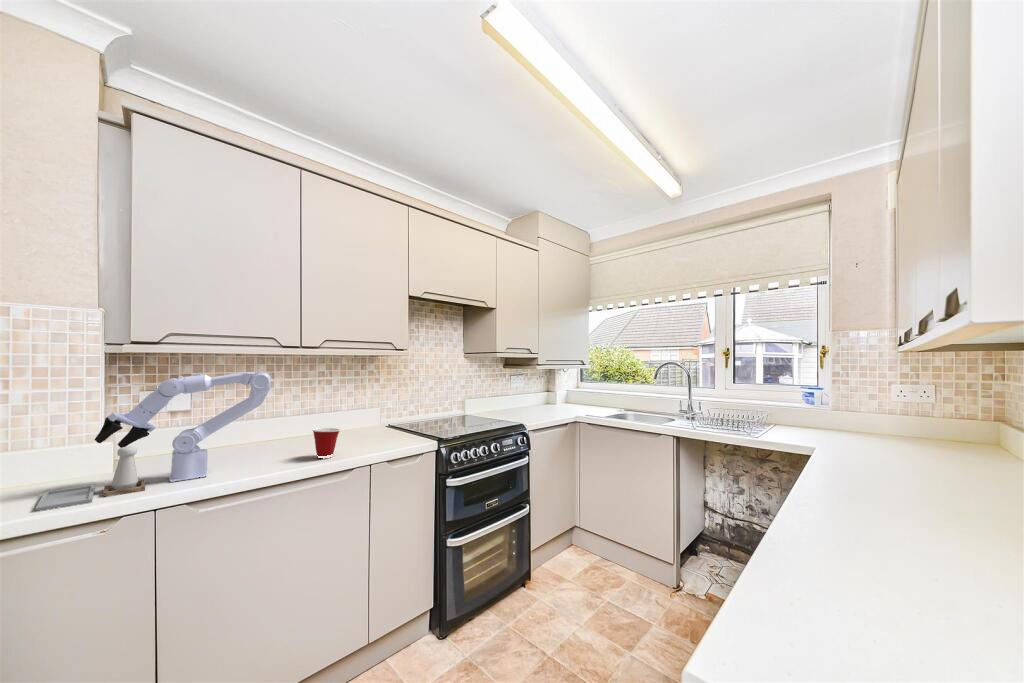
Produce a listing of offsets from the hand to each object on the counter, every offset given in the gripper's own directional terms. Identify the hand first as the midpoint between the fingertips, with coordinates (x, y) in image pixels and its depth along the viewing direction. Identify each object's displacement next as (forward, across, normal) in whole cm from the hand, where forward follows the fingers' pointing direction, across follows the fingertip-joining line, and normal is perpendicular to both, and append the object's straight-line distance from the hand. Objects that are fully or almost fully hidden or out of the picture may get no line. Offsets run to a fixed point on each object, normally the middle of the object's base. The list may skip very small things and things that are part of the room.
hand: (108, 444), depth 122 cm
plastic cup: (-30, -44, +39) cm, 65 cm away
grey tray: (+13, +5, +10) cm, 17 cm away
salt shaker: (+7, -3, +14) cm, 16 cm away
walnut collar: (+6, -3, +14) cm, 16 cm away
